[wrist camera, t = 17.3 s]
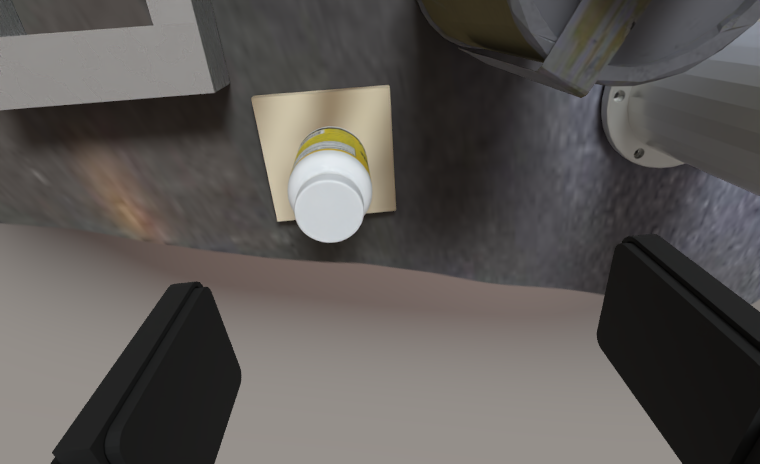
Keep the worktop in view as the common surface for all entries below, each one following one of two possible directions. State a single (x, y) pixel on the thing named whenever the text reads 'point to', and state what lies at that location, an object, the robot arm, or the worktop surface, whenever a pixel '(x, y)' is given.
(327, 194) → the supplement bottle
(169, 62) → the socket block
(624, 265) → the robot arm
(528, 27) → the canister
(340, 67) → the worktop surface
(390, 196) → the oak board
